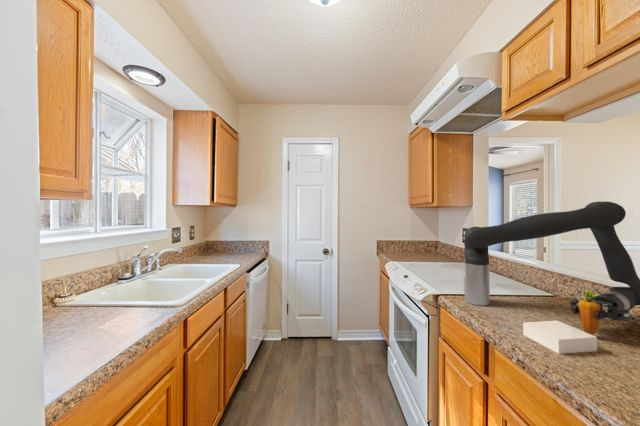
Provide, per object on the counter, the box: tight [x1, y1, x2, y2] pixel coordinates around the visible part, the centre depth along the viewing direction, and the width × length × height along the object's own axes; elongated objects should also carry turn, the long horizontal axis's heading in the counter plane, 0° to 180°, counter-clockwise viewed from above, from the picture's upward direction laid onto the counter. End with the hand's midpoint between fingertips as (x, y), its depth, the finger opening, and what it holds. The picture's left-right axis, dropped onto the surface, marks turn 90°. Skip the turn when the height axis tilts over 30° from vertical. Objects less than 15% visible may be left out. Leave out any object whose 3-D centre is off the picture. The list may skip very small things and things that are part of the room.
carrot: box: [578, 289, 600, 336], centre depth 87 cm, size 5×5×15 cm
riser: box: [522, 320, 598, 355], centre depth 84 cm, size 12×12×4 cm
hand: (585, 313), depth 86 cm, fingers open, 5 cm apart
